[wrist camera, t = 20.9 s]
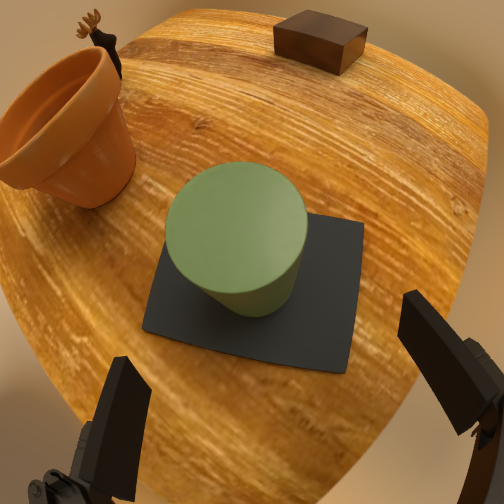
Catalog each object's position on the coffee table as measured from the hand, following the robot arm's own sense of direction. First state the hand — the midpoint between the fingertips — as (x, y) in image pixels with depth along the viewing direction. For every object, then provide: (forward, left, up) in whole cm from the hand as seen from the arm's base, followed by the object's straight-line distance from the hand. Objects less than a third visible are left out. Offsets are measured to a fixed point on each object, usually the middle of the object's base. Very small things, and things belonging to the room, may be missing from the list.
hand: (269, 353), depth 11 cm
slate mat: (+2, -5, -8) cm, 10 cm away
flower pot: (+21, -13, -8) cm, 26 cm away
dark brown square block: (-1, -39, -8) cm, 40 cm away
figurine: (+31, -31, -8) cm, 45 cm away
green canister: (+2, -5, -8) cm, 9 cm away
